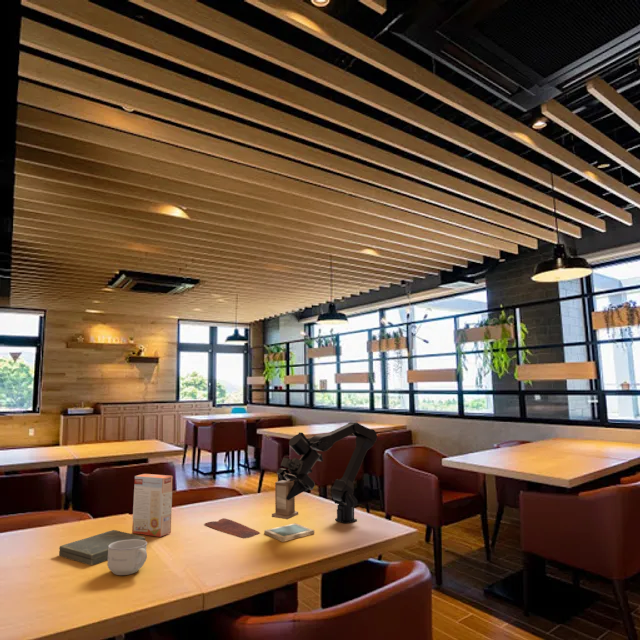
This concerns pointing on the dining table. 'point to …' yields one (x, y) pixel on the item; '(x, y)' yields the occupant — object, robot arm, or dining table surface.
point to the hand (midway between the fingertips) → (281, 497)
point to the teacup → (126, 556)
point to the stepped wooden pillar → (284, 500)
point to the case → (94, 547)
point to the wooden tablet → (232, 528)
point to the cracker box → (152, 504)
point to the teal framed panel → (288, 532)
